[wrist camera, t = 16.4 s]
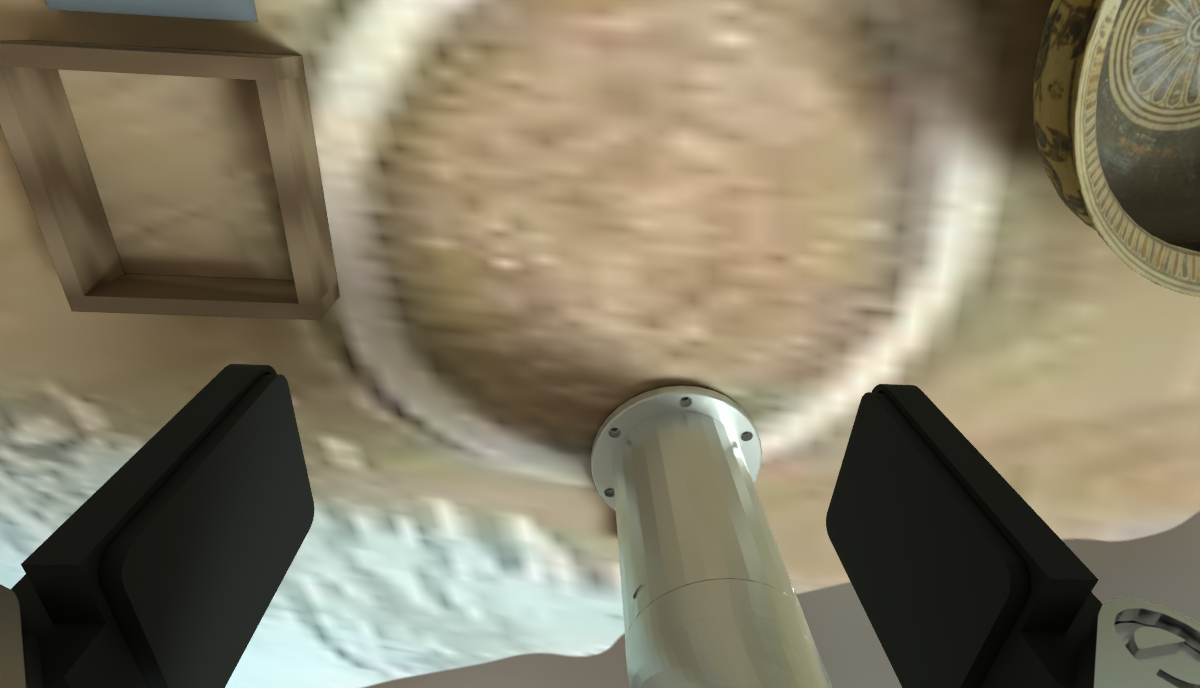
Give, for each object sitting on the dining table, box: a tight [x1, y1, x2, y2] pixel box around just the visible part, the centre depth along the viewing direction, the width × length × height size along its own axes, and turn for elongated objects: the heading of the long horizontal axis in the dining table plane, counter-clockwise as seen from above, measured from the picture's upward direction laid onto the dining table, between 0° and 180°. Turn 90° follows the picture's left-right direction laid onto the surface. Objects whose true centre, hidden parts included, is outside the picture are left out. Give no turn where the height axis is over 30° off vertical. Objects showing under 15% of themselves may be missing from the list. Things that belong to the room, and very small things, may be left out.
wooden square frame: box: [0, 40, 340, 320], centre depth 34 cm, size 14×14×4 cm
